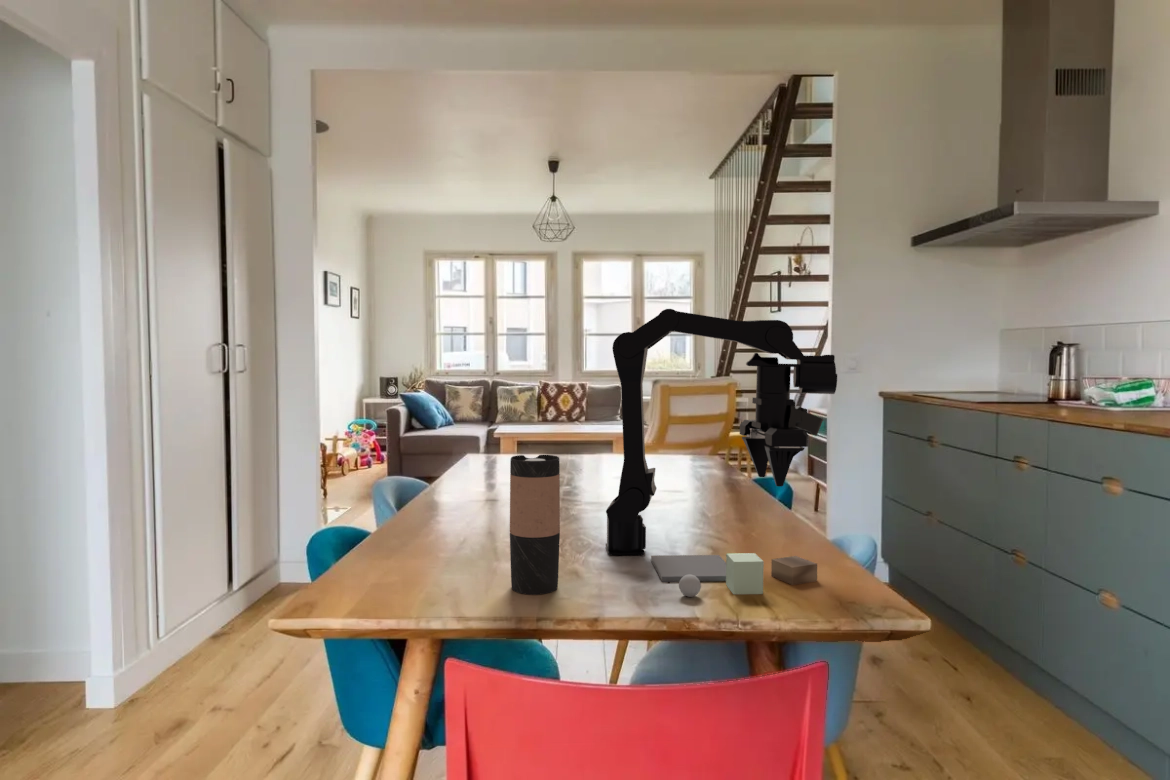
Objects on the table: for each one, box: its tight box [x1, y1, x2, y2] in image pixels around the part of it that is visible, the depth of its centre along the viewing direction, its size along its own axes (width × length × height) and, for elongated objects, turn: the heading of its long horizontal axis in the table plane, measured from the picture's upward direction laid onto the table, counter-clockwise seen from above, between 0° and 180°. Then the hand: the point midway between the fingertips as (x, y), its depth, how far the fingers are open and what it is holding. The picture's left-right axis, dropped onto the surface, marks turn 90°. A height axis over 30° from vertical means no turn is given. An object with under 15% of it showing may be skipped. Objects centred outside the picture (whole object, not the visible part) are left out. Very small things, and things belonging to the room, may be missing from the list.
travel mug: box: [509, 454, 561, 596], centre depth 109 cm, size 8×8×20 cm
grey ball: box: [678, 575, 702, 598], centre depth 106 cm, size 3×3×3 cm
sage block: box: [725, 552, 765, 595], centre depth 109 cm, size 4×4×5 cm
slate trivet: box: [650, 554, 726, 583], centre depth 119 cm, size 12×12×1 cm
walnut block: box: [770, 555, 818, 586], centre depth 115 cm, size 5×5×3 cm
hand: (770, 481), depth 125 cm, fingers open, 9 cm apart
